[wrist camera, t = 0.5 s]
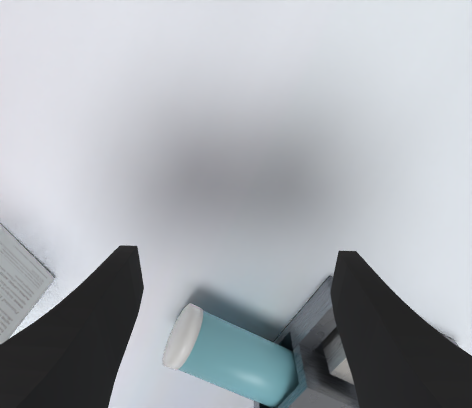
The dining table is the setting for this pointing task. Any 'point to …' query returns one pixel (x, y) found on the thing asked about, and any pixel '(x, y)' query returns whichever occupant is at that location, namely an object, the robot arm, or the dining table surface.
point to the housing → (315, 357)
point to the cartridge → (230, 357)
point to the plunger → (336, 356)
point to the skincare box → (18, 283)
